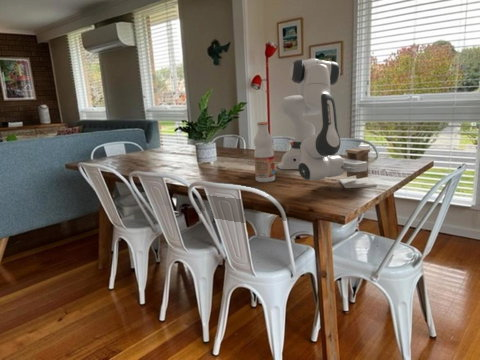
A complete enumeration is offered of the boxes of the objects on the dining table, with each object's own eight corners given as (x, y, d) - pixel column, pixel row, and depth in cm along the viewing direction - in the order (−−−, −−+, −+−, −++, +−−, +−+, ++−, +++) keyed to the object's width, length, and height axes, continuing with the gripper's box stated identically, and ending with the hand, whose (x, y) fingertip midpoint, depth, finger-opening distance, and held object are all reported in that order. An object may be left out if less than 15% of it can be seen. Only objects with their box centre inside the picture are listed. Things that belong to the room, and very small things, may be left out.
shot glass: (356, 155, 225) (356, 144, 223) (367, 155, 225) (367, 143, 223) (361, 157, 218) (361, 146, 216) (372, 156, 218) (372, 145, 217)
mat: (345, 188, 154) (345, 185, 154) (339, 181, 166) (339, 179, 166) (376, 186, 153) (376, 184, 153) (368, 179, 165) (368, 177, 165)
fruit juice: (253, 179, 180) (250, 122, 174) (271, 177, 182) (269, 121, 176) (258, 183, 171) (255, 123, 165) (277, 181, 173) (275, 122, 167)
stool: (357, 179, 154) (357, 151, 152) (345, 176, 160) (345, 149, 158) (369, 176, 157) (369, 149, 155) (357, 174, 163) (357, 147, 161)
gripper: (352, 161, 142) (378, 157, 148) (318, 155, 160) (342, 151, 166) (352, 177, 143) (377, 172, 149) (318, 169, 161) (342, 165, 167)
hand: (359, 161), depth 158 cm, fingers closed on stool, 6 cm apart
